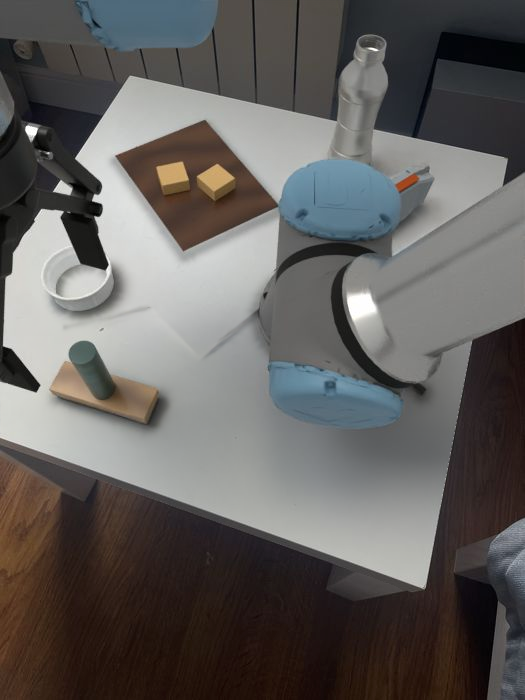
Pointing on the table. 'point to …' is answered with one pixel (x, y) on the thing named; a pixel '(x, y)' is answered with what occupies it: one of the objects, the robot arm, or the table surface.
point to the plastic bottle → (360, 101)
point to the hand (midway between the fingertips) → (61, 320)
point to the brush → (102, 386)
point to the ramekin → (62, 263)
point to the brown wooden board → (195, 184)
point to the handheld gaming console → (412, 187)
